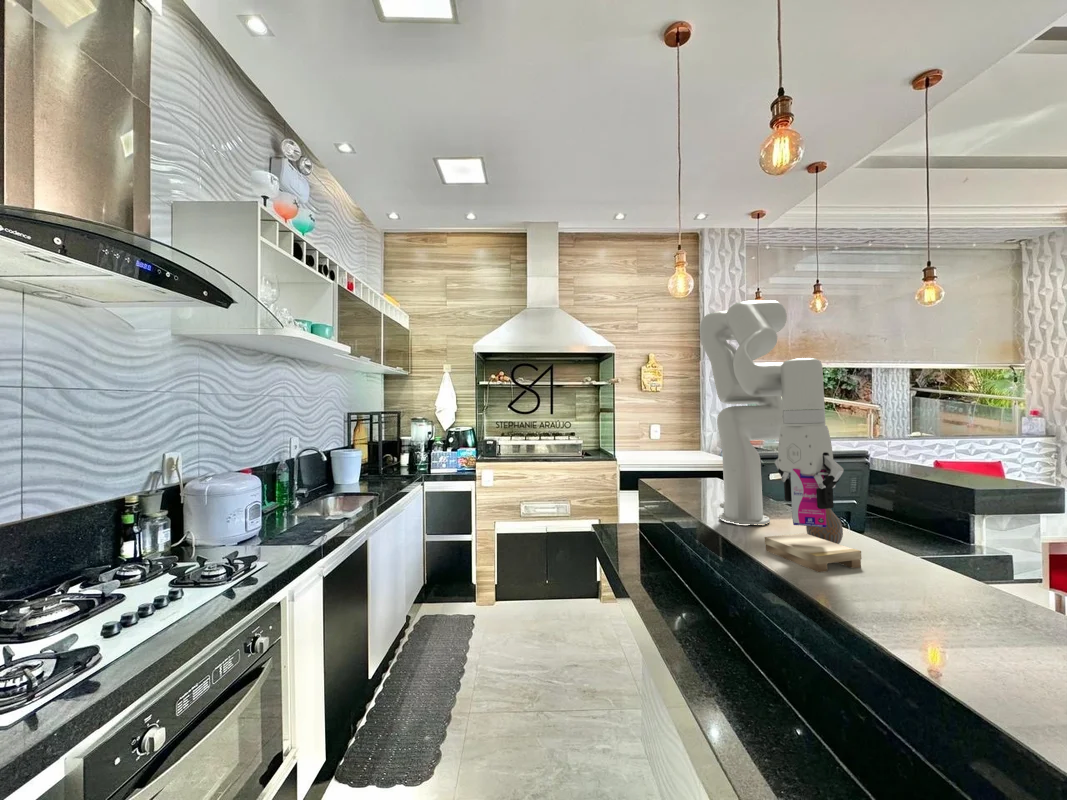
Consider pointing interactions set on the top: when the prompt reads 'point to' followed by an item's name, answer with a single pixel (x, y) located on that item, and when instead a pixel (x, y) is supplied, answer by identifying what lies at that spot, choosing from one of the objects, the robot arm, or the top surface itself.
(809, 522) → the supplement box
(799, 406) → the robot arm
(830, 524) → the vase
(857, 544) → the top surface
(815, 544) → the platform
